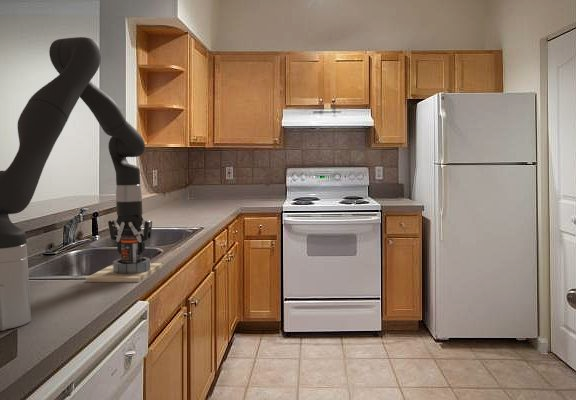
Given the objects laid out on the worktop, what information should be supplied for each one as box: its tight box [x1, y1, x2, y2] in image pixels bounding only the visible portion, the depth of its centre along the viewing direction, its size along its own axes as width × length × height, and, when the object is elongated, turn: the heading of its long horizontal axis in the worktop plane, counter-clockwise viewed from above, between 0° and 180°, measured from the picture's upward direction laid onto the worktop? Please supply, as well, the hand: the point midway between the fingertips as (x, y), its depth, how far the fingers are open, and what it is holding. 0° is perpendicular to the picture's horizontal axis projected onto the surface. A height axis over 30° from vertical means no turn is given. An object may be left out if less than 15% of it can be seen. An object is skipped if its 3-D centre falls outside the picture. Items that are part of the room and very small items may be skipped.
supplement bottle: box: [120, 229, 143, 263], centre depth 154 cm, size 6×6×11 cm
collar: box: [112, 256, 151, 274], centre depth 155 cm, size 11×11×3 cm
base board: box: [85, 262, 163, 283], centre depth 155 cm, size 20×16×1 cm
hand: (131, 253), depth 155 cm, fingers closed on supplement bottle, 6 cm apart
